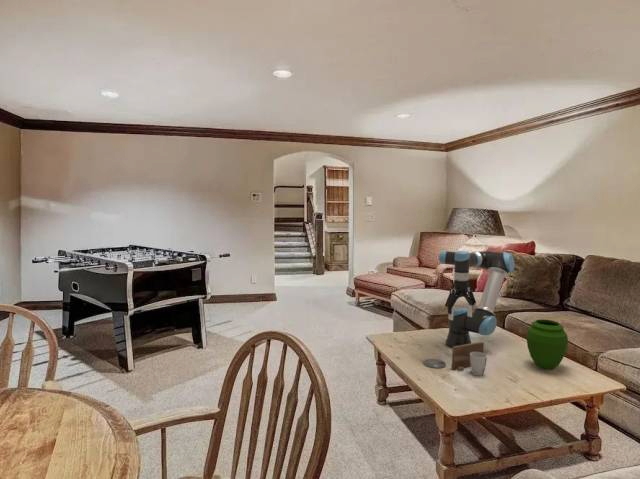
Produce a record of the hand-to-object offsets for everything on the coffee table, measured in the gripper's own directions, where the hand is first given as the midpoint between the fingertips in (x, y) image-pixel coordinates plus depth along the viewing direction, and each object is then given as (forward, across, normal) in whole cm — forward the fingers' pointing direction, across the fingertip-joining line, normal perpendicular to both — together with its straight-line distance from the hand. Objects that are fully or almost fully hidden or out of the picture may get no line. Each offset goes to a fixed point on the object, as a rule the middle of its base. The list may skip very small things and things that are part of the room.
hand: (460, 318), depth 221 cm
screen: (+25, 0, -7) cm, 26 cm away
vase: (+25, +36, -25) cm, 51 cm away
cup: (+25, -3, -16) cm, 29 cm away
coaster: (+25, -14, +4) cm, 29 cm away
